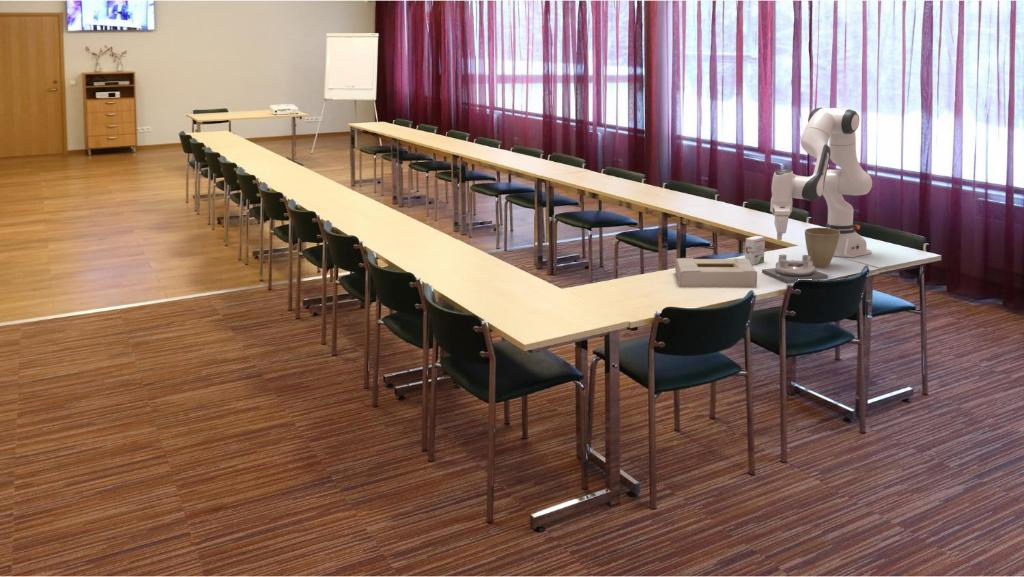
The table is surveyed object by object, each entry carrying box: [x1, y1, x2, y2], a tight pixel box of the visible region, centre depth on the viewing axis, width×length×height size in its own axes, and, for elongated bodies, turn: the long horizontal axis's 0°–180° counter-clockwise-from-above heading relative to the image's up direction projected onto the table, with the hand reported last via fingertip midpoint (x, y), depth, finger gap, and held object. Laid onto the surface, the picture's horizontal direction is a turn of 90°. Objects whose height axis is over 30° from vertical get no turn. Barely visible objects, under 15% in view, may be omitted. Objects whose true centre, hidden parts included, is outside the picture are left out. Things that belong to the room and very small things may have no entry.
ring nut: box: [775, 253, 816, 276], centre depth 409 cm, size 16×16×6 cm
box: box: [674, 257, 758, 288], centre depth 406 cm, size 23×8×32 cm
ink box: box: [744, 235, 766, 266], centre depth 432 cm, size 8×5×12 cm, turn 131°
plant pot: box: [804, 227, 840, 269], centre depth 423 cm, size 15×15×16 cm
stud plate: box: [761, 267, 829, 284], centre depth 410 cm, size 20×19×2 cm
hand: (779, 239), depth 407 cm, fingers closed
